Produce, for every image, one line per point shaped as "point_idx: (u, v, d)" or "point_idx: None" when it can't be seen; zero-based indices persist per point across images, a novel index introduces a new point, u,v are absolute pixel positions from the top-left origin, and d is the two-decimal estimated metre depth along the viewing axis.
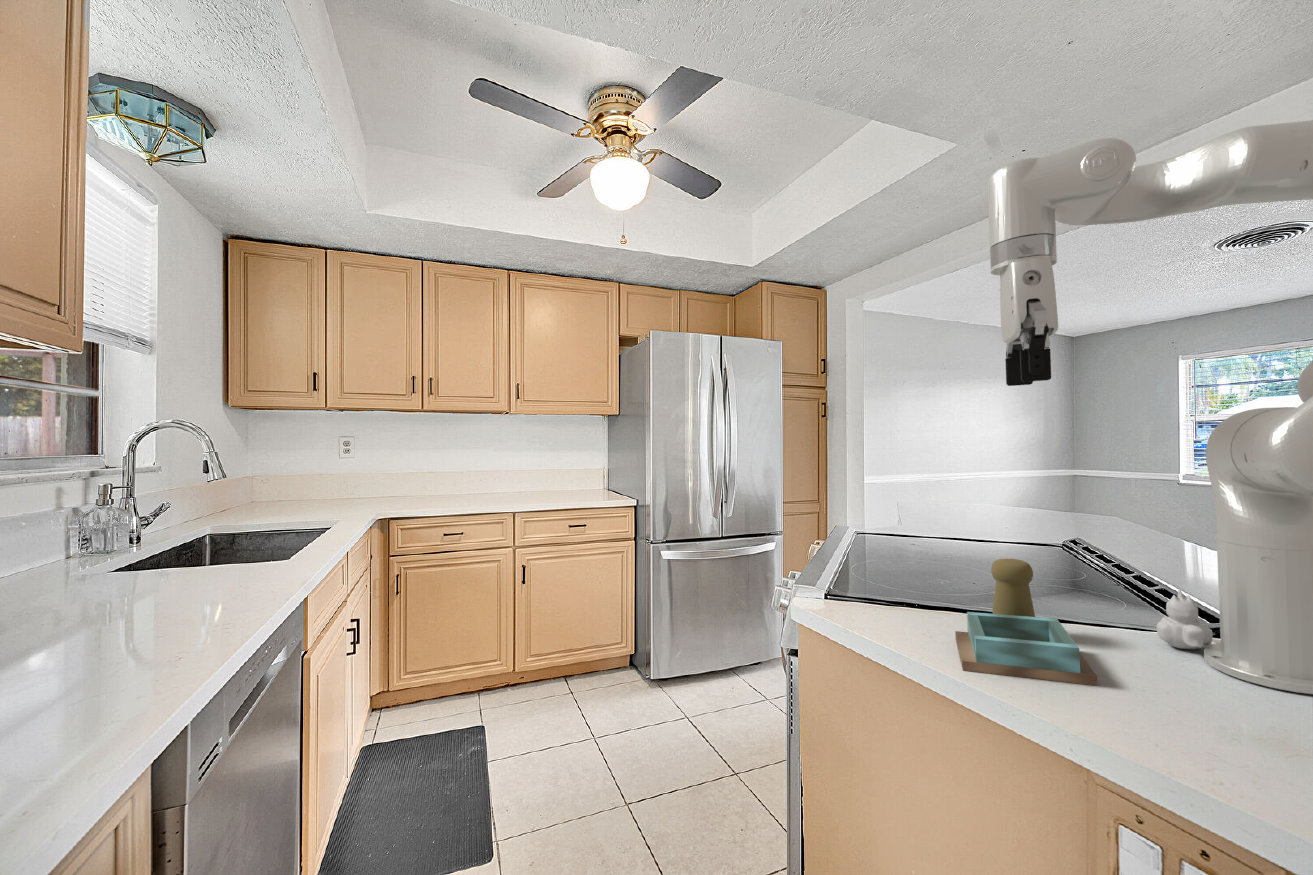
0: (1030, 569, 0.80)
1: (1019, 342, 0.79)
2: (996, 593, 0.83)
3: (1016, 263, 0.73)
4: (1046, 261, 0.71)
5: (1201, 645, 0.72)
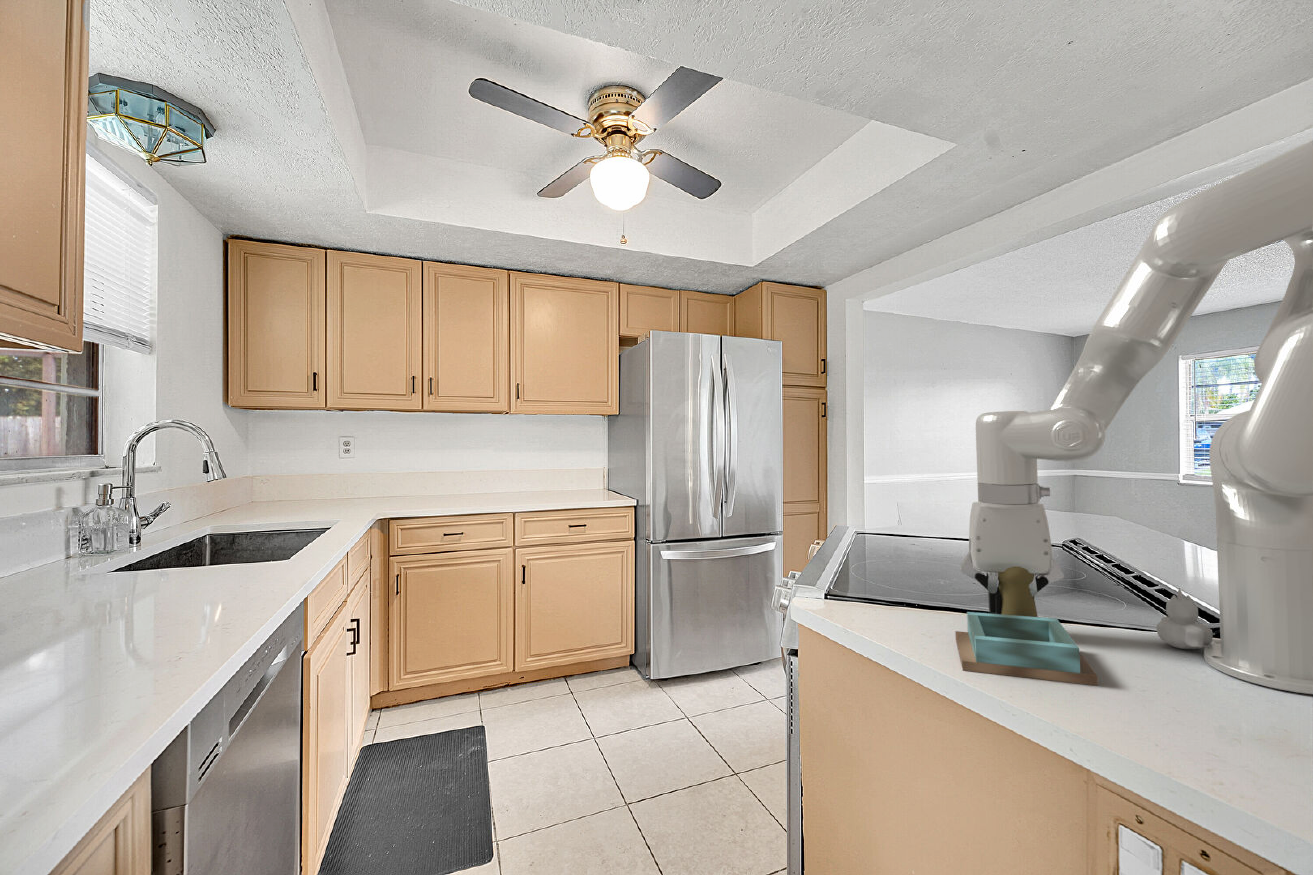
0: None
1: None
2: (999, 593, 0.83)
3: (1043, 508, 0.79)
4: None
5: (1201, 645, 0.72)
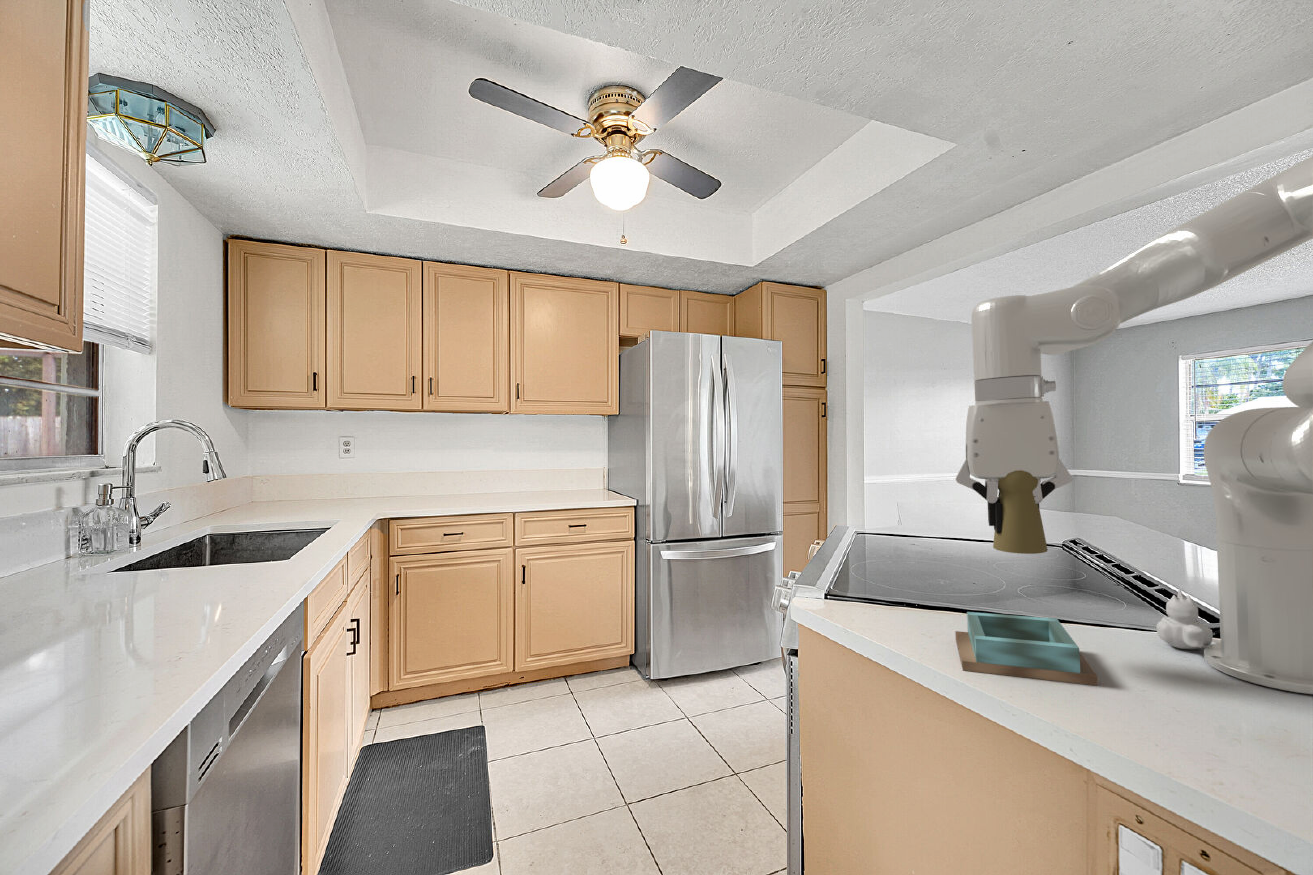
0: None
1: None
2: None
3: (1047, 402, 0.70)
4: None
5: (1201, 645, 0.72)
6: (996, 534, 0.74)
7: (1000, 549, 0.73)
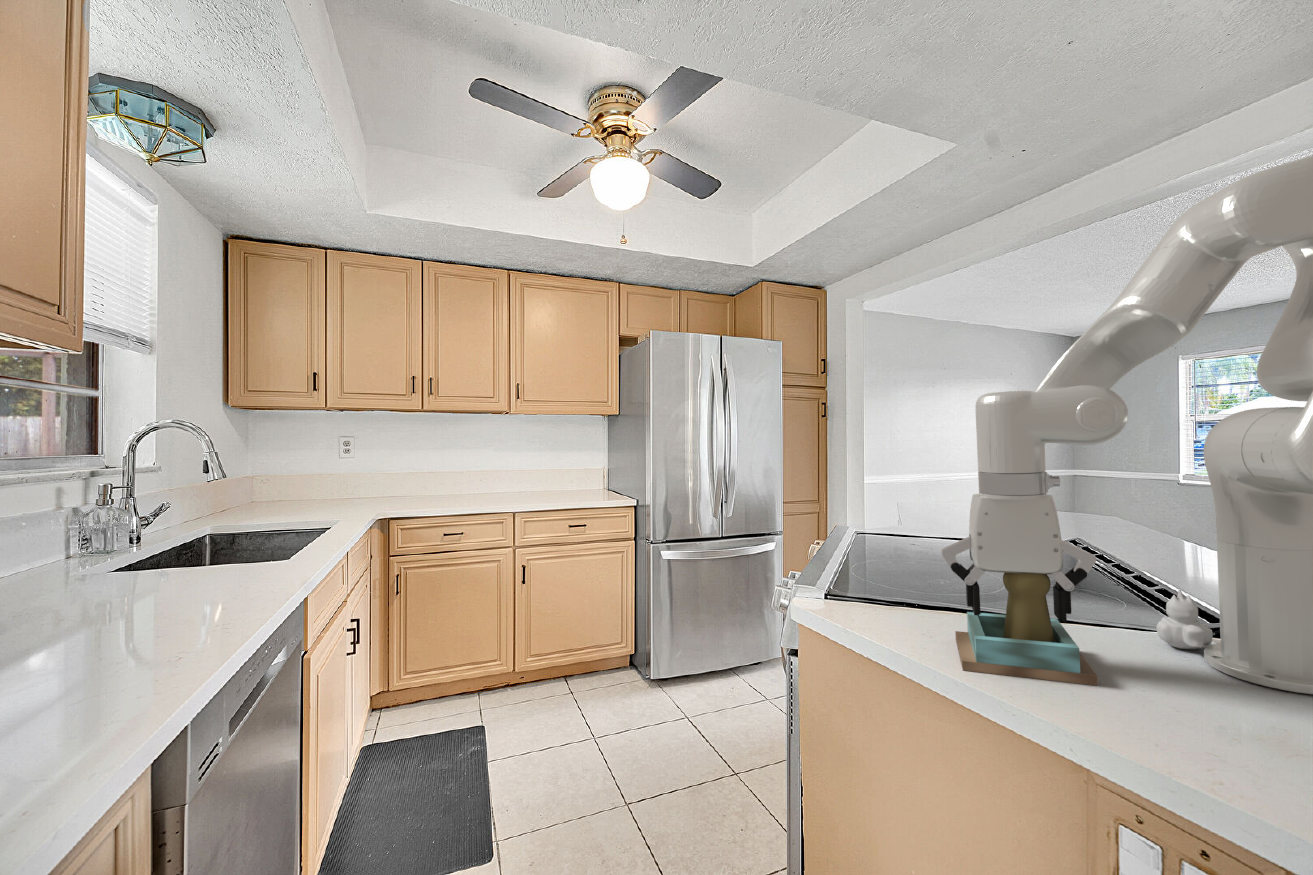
0: (1047, 579, 0.71)
1: None
2: (1008, 605, 0.74)
3: (1052, 499, 0.70)
4: None
5: (1201, 645, 0.72)
6: (1005, 636, 0.74)
7: None
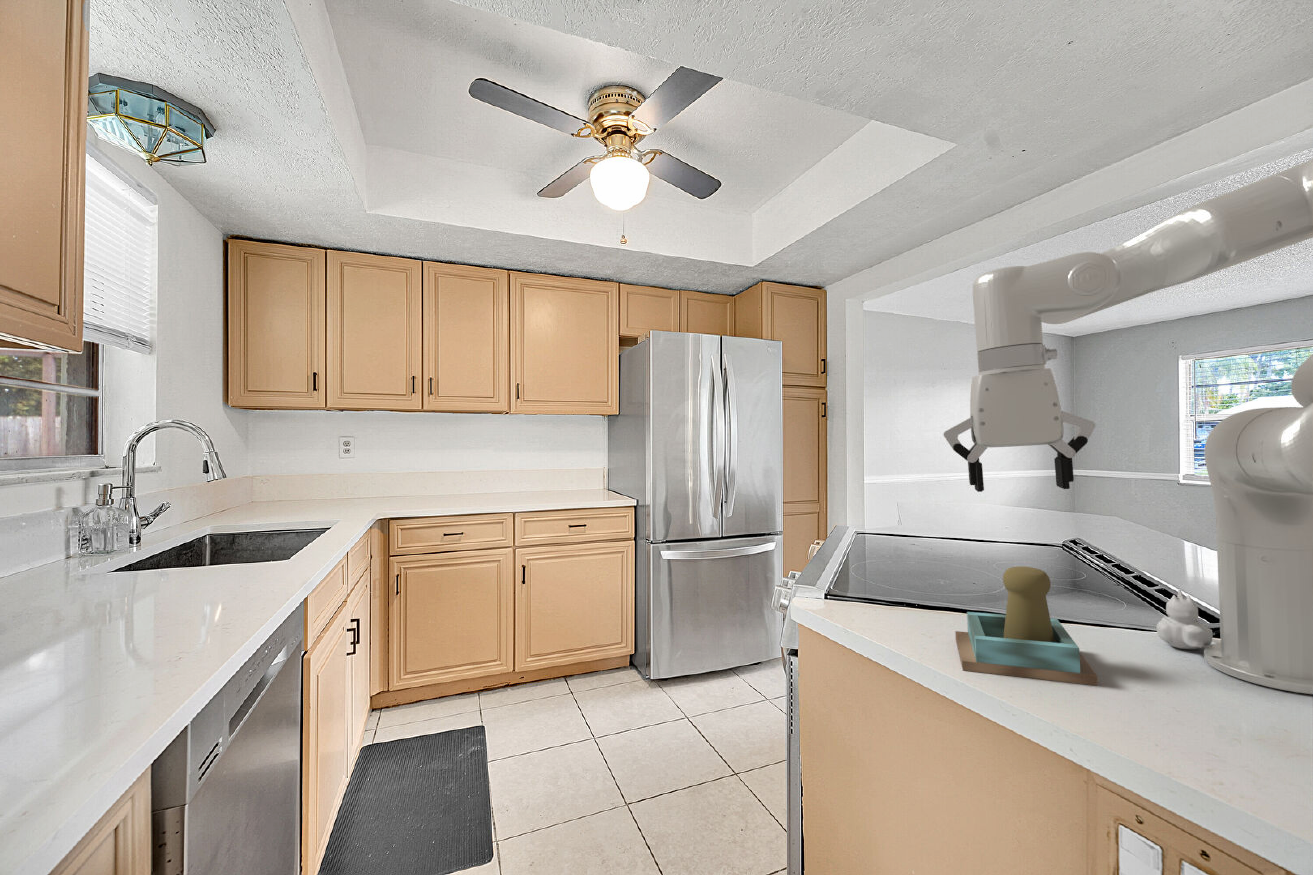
0: (1047, 579, 0.71)
1: None
2: (1008, 605, 0.74)
3: (1050, 370, 0.72)
4: None
5: (1201, 645, 0.72)
6: (1005, 636, 0.74)
7: None
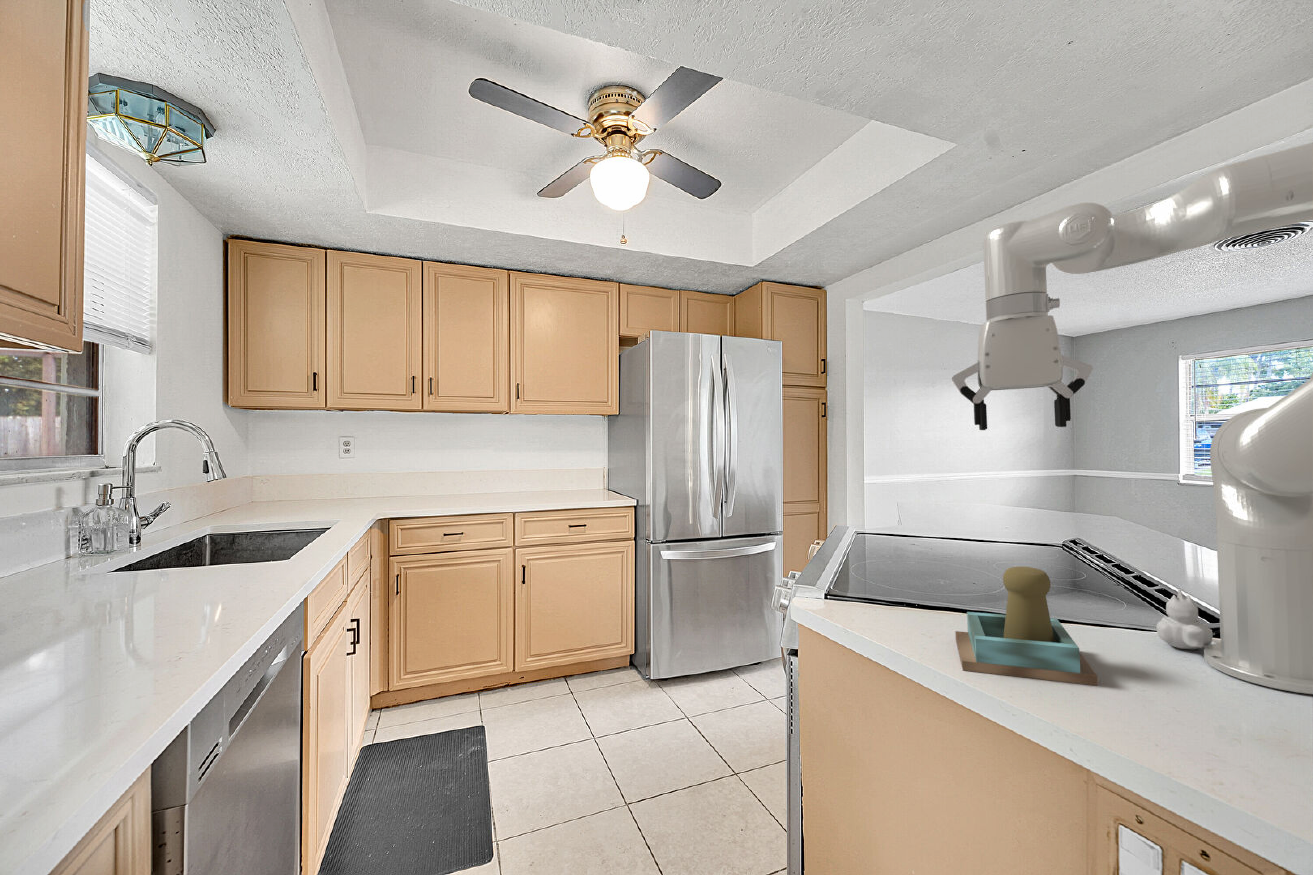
0: (1047, 579, 0.71)
1: None
2: (1008, 605, 0.74)
3: (1052, 317, 0.78)
4: None
5: (1201, 645, 0.72)
6: (1005, 636, 0.74)
7: None
